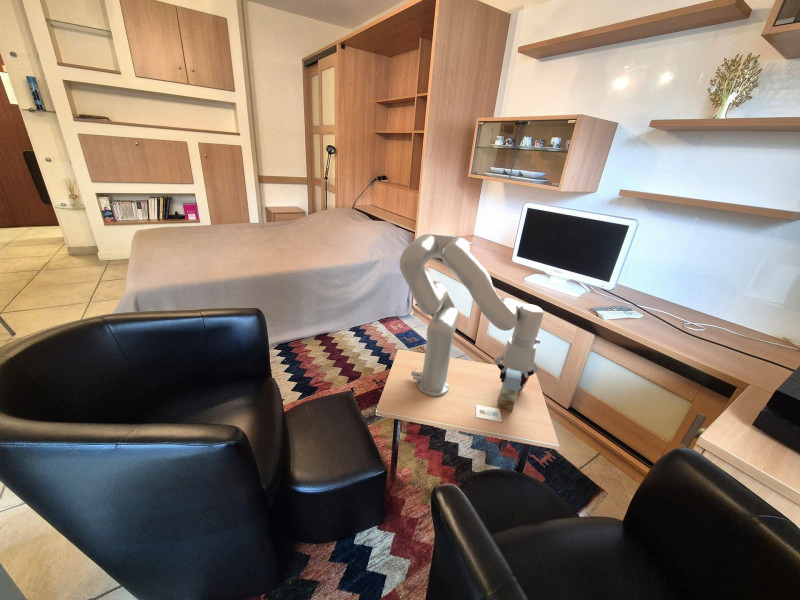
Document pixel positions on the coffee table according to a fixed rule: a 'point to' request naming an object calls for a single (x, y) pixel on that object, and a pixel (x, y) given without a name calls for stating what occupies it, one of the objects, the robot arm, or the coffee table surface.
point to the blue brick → (512, 380)
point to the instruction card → (488, 413)
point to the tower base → (505, 404)
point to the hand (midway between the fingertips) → (511, 381)
